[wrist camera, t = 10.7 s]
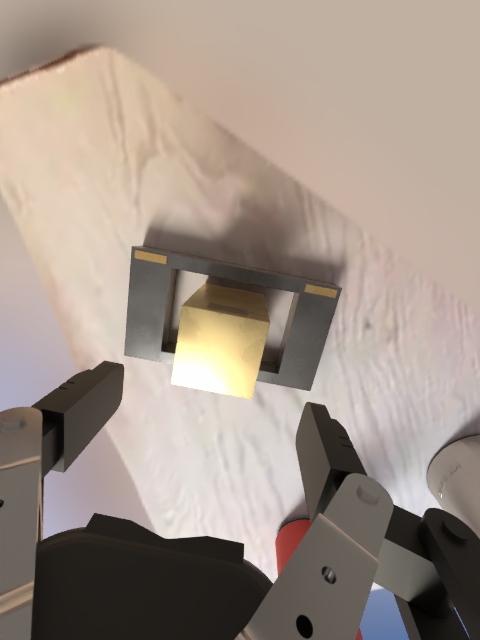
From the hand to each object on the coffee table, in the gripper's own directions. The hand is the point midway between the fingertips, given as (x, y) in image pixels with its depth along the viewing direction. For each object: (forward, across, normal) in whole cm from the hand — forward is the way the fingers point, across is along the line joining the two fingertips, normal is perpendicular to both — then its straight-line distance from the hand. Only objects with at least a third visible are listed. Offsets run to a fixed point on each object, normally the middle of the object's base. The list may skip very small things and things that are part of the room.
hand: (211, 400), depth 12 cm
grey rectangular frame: (+12, 0, 0) cm, 12 cm away
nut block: (+12, 0, 0) cm, 12 cm away
